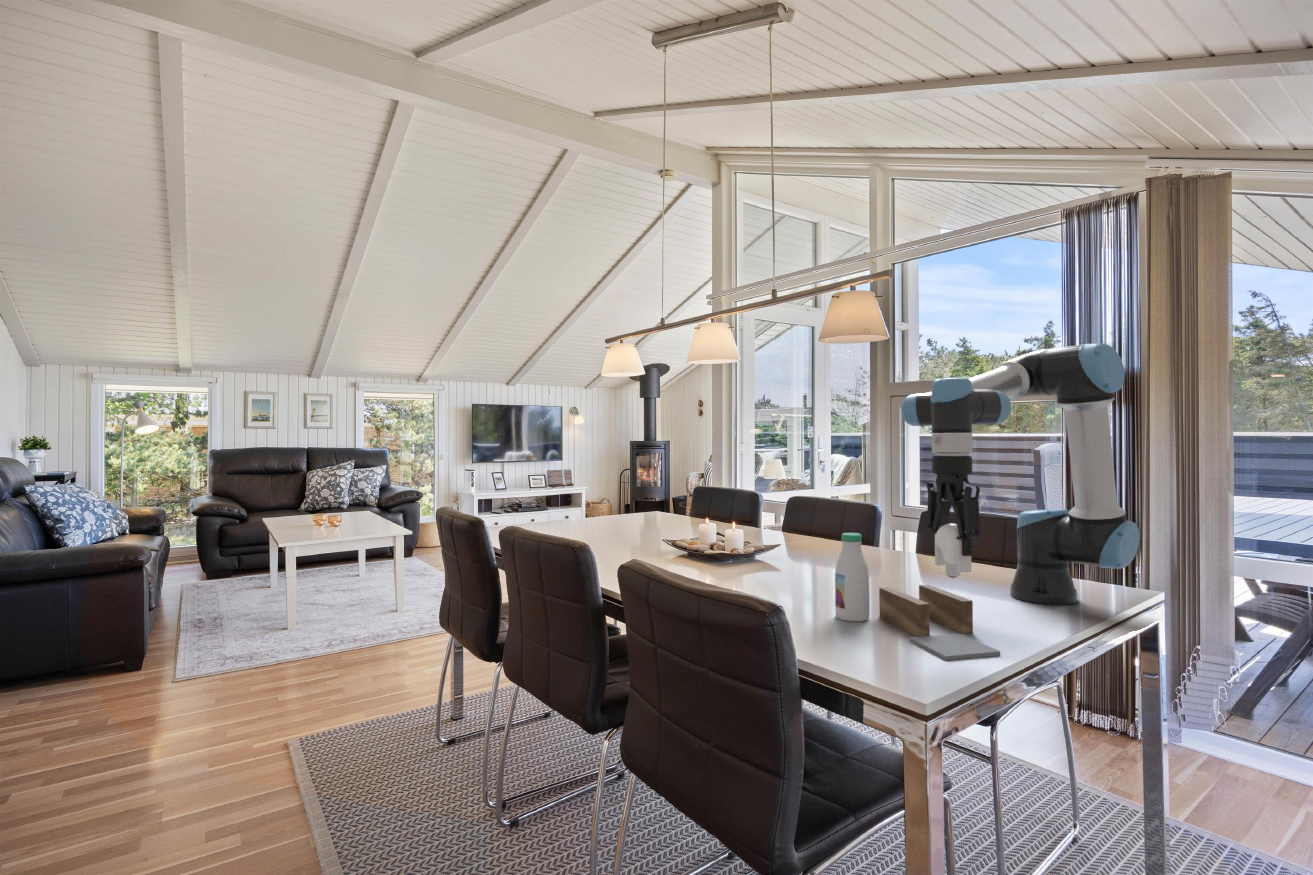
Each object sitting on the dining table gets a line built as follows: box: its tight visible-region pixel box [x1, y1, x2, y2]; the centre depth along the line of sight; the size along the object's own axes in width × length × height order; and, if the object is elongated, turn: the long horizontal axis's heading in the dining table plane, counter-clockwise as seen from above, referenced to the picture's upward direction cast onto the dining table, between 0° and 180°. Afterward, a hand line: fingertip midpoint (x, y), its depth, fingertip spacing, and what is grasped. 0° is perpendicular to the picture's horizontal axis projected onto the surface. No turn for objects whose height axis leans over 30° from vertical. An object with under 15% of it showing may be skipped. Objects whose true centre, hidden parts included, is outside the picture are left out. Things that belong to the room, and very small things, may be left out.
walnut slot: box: [878, 584, 974, 637], centre depth 151 cm, size 13×16×7 cm
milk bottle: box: [834, 532, 870, 622], centre depth 157 cm, size 8×8×20 cm
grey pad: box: [909, 632, 1001, 661], centre depth 134 cm, size 12×12×1 cm
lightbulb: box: [935, 522, 961, 579], centre depth 134 cm, size 6×6×11 cm
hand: (952, 568), depth 134 cm, fingers closed on lightbulb, 6 cm apart
